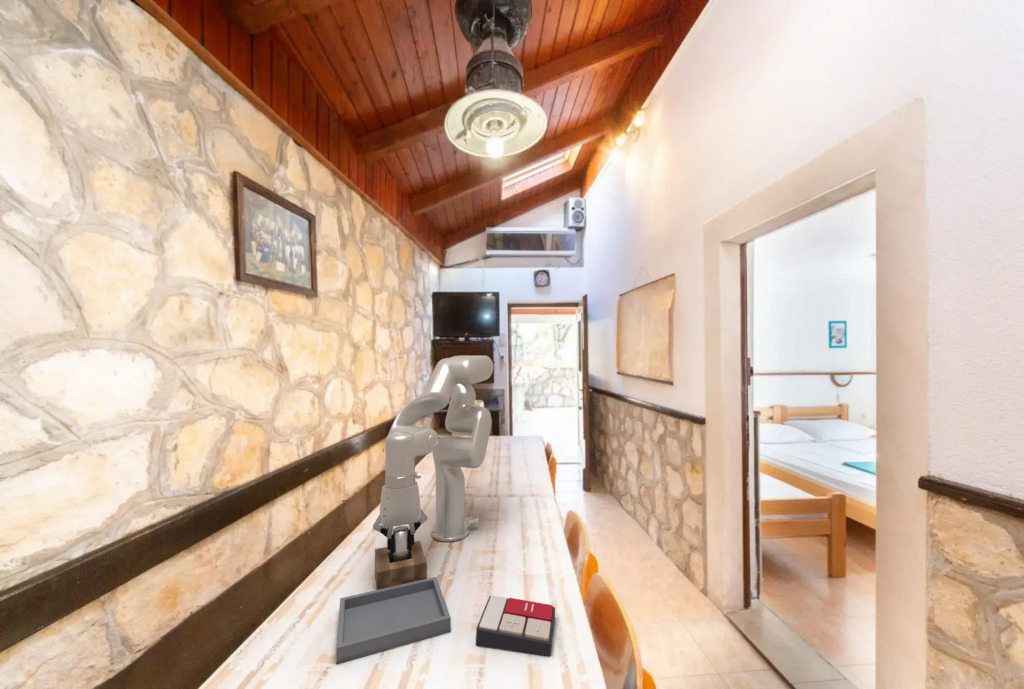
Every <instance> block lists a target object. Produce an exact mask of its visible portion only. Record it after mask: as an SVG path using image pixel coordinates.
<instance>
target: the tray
mask: <svg viewBox="0 0 1024 689" xmlns="http://www.w3.org/2000/svg"><path fill="white" fill-rule="evenodd" d="M451 622H452V620H451V615H450V611H449V609H448V606H447V603H446V600H445V598H444V595H443V592H442V589H441V587H440V584H439V581H438V577H437V576H434V577H429V578H428V577H427V579H424V580H419V581H415V582H410V583H406V584H401V585H397V586H393V587H388V588H384V589H379V590H376V589H374V590H371V591H367V592H366V591H365V592H363V593H362V592H361V593H358V594H353V595H349V596H344V597H340V598H339V609H338V625H337V639H336V665H339V664H343V663H345V662H346V663H347V662H350V661H354V660H356V659H360V658H364V657H367V656H370V655H375V654H377V653H381V652H385V651H388V650H391V649H395V648H396V649H397V648H399V647H403V646H405V645H409V644H413V643H416V642H420V641H423V640H427V639H430V638H434V637H437V636H441V635H445V634H448V633H451V631H452V630H451V629H452V628H451V627H452V626H451V624H452V623H451Z"/></svg>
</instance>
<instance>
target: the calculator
mask: <svg viewBox="0 0 1024 689" xmlns="http://www.w3.org/2000/svg"><path fill="white" fill-rule="evenodd" d="M555 618H556V607H555V606H553V604H548V603H543V602H542V603H541V602H536V601H531V600H525V599H520V598H513V597H509V598H507V597H504V596H498V595H494V594H493V595H489V596H488V599H487V601H486V604H485V606H484V609H483V612H482V614H481V616H480V619H479V621H478V624H477V626H476V631H475V632H476V633H475V647H480V648H484V649H485V648H486V649H493V650H496V649H497V650H498V649H500V650H505V651H510V652H516V653H520V654H527V655H532V656H540V657H545V658H546V657H547V658H549V657H550V656H551V654H552V644H553V637H554V629H555V620H556V619H555Z"/></svg>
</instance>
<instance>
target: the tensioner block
mask: <svg viewBox="0 0 1024 689" xmlns="http://www.w3.org/2000/svg"><path fill="white" fill-rule="evenodd" d="M427 564H428V561H427V559H426V555H425V552H424V550H423V546H422V543H421V541H420V540H417V541H416V540H415V541H414V545H412V550H409V559H408V560H403V561H398V562H393V554H391V553H390V550H388V549H387V546H385V547H379V548H374V576H375V578H374V579H375V581H374V582H375V590H379V589H384V588H388V587H393V586H397V585H401V584H406V583H410V582H415V581H419V580H424V579H428V565H427Z"/></svg>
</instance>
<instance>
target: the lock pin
mask: <svg viewBox="0 0 1024 689" xmlns="http://www.w3.org/2000/svg"><path fill="white" fill-rule="evenodd" d="M409 529H410V528H409V527H408V526H406V525H400V526H395V527H393V531H392V534H393V539H394V553H393V562H398V561H403V560H408V559H409Z"/></svg>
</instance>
